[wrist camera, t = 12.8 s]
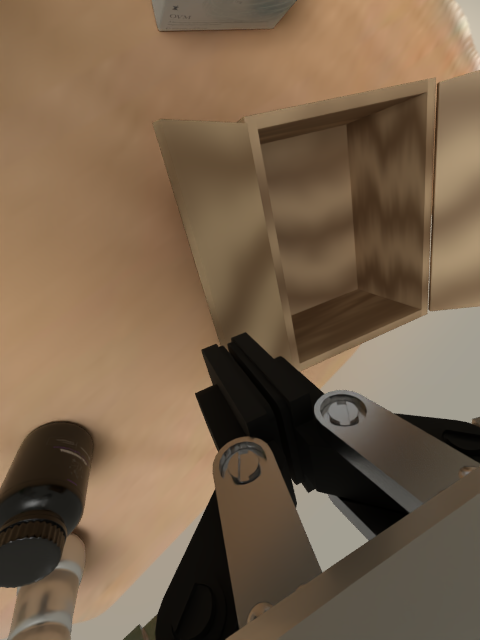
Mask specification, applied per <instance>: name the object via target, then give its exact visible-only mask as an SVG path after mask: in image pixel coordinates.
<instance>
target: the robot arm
mask: <svg viewBox="0 0 480 640" xmlns="http://www.w3.org/2000/svg"><path fill="white" fill-rule="evenodd" d="M227 346H228V350H229V352H228V351H227V349H226V348H225V347H224V346H220V347H218V345H217V344H214V345H212V346H210V347H207V348H205V349H202V354H203V357H204V360H205V363H206V366H207V369H208V372H209V375H210V378H211V381H212V384H213V386H211V387H208V388H206V389H204V390H202V391H199V392H197V393H195V395H196V398H197V400H198V403H199V406H200V408H201V411H202V413H203V416H204V419H205V421H206V424H207V426H208V429H209V431H210V434H211V436H212V438H213V441H214V443H215V446H216V448H217V450H218V453H217V455H216V456H215V459H214V462H213V478H214V484H215V491H214V493H213V495H212V497H211V499H210V501H209V503H208V505H207V507H206V509H205V512H204V514H203V516H202V518H201V520H200V522H199V524H198V526H197V528H196V531H195V533H194V535H193V537H192V539H191V541H190V543H189V545H188V547H187V550H186V552H185V554H184V556H183V558H182V560H181V562H180V564H179V566H178V569H177V570H176V573H175V575H174V577H173V579H172V581H171V583H170V585H169V588H168V589H167V591H166V594H165V596H164V598H163V600H162V603H161V606H160V609H159V612H158V614H157V615H156V616H155V617H154V618H153V619H152V620H151V621H150V622H149V623H148V624H146V626H144V627H143V628H142V627H141V625H140V624H139V625H138V626H137V627H136V628H135V629H134V630H133V631H132V632H131V633H130V634H128V635H127V636H126V637H125V638H124V639H123V640H480V417H478V418H474V419H472V424H471V423H467V422H463V421H457V420H449V419H440V418H431V417H421V416H413V415H404V414H395V413H392V412H390V411H388V410H387V409H385V408H383V407H382V406H380V405H378V404H376V403H375V402H373V401H371V400H369V399H367V398H366V397H364V396H362V395H360V394H358V393H355V392H352V391H347V390H337V391H332V392H328V393H326V394H324V393H323V392H322V391H321V390H319V389H318V388H317V387H316V386H315V385H314V384H313V383H312V382H310V381H309V380H308V379H307V378H306V377H305V376H304V375H303V374H301V373H300V372H299V371H298V370H297V369H296V368H295V367H294V366H293V365H291V364H290V363H289V362H288V361H287V360H286V359H285V358H283V357H282V356H279V357H276V358H273V357H272V356H271V355H269V354H268V353H267V352H266V351H265V350H264V349H263V348H262V347H261V346H260V345H259V344H258V343H257V342H256V341H255V340H254V339H253V338H252V337H251V336H250V335H249V334H248V333H246V332H244V333H242V334H239V335H237V336H234V337H232V338H231V342H230V343H228V344H227ZM291 479H292V480H293V482H294V483H295V484H296V485H298V484H299V483H302V484H303V486H304V487H305V489H306V490H307V492H308V493H309V492H311V491H312V490H314V489H316V490H317V491H318V492H322V493H326V494H328V496H329V498H330V500H331V501H332V502H333V504H334V505H335V506H336V507H337V508H338V509H339V510H340V511H341V512H342V513H343V514H344V515H345V516H346V517H347V518H348V520H349V521H350V522H351V523H352V524H353V525H354V526H355V527H356V528H357V529H358V530H359V531H360V532H361V533H362V534H363V535H364V536H365V537H366V538H367V539H368V540H369V541H368V542H367V543H365V544H364V545H362V546H361V547H360V548H358V549H356V550H355V551H354V552H352V553H351V554H349V555H348V556H346V557H345V558H344V559H342V560H340V561H339V562H337V563H336V564H334V565H333V566H331V567H330V568H329V569H327V570H326V571H325V572H323V573H322V570H321V568H320V566H319V563H318V561H317V558H316V556H315V554H314V551H313V549H312V546H311V544H310V542H309V539H308V537H307V534H306V532H305V530H304V527H303V525H302V523H301V520H300V518H299V515H298V513H297V510H296V505H297V502H296V497H295V493H294V489H293V484H292V480H291Z"/></svg>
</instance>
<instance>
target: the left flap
mask: <svg viewBox="0 0 480 640" xmlns="http://www.w3.org/2000/svg"><path fill="white" fill-rule="evenodd" d="M152 124H153V127H154V130H155V133H156V137H157V140H158V143H159V146H160V150H161V153H162V156H163V159H164V163H165V166H166V169H167V173H168V176H169V179H170V182H171V186H172V189H173V192H174V195H175V199H176V202H177V205H178V208H179V212H180V215H181V218H182V221H183V225H184V228H185V231H186V235H187V238H188V241H189V244H190V248H191V251H192V254H193V257H194V261H195V264H196V267H197V270H198V274H199V277H200V280H201V283H202V287H203V290H204V293H205V297H206V300H207V303H208V306H209V310H210V313H211V316H212V319H213V323H214V326H215V329H216V332H217V336H218V339H219V342H220V345H221V346H224V347H225V348H226V349H227V351H228V352H229V350H228V346H227V344H228V343H230V342H231V338H232V337H234V336H237V335H239V334H242V333H244V332H246V333H248V334H249V335H250V336H251V337H252V338H253V339H254V340H255V341H256V342H257V343H258V344H259V345H260V346H261V347H262V348H263V349H264V350H265V351H266V352H267V353H268V354H269V355H271V356H272V357H273V358H276V357H279V356H282V357H283V358H285V359H286V360H287V361H288V362H289V363H290V364H291V365H293V362H292V357H291V352H290V347H289V341H288V336H287V331H286V326H285V320H284V315H283V310H282V305H281V300H280V294H279V289H278V284H277V279H276V273H275V268H274V263H273V258H272V253H271V247H270V242H269V237H268V232H267V226H266V221H265V216H264V211H263V206H262V200H261V195H260V190H259V185H258V179H257V174H256V169H255V164H254V159H253V153H252V148H251V143H250V138H249V132H248V127H247V123H234V122H213V121H191V120H169V119H159V120H157V121H155V122H153V123H152Z"/></svg>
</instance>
